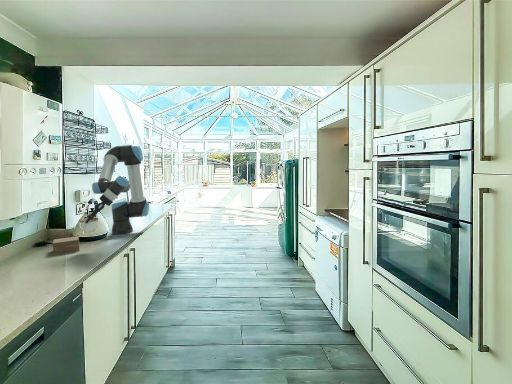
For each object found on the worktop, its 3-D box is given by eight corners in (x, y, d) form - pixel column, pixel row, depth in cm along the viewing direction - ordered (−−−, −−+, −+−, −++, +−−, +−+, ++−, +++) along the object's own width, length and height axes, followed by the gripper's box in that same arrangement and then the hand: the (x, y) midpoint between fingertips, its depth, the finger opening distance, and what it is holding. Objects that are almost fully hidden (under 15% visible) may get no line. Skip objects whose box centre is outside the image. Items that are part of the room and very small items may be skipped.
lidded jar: (86, 234, 233) (84, 218, 232) (76, 232, 240) (74, 217, 239) (102, 230, 242) (101, 215, 241) (93, 229, 248) (91, 214, 247)
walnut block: (55, 250, 247) (53, 239, 247) (79, 247, 253) (78, 236, 252) (53, 254, 235) (52, 243, 234) (79, 251, 240) (78, 239, 240)
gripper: (111, 203, 231) (85, 232, 229) (115, 199, 254) (91, 225, 252) (100, 195, 229) (75, 224, 227) (105, 191, 252) (82, 218, 250)
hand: (83, 225), depth 240 cm, fingers closed on lidded jar, 11 cm apart
